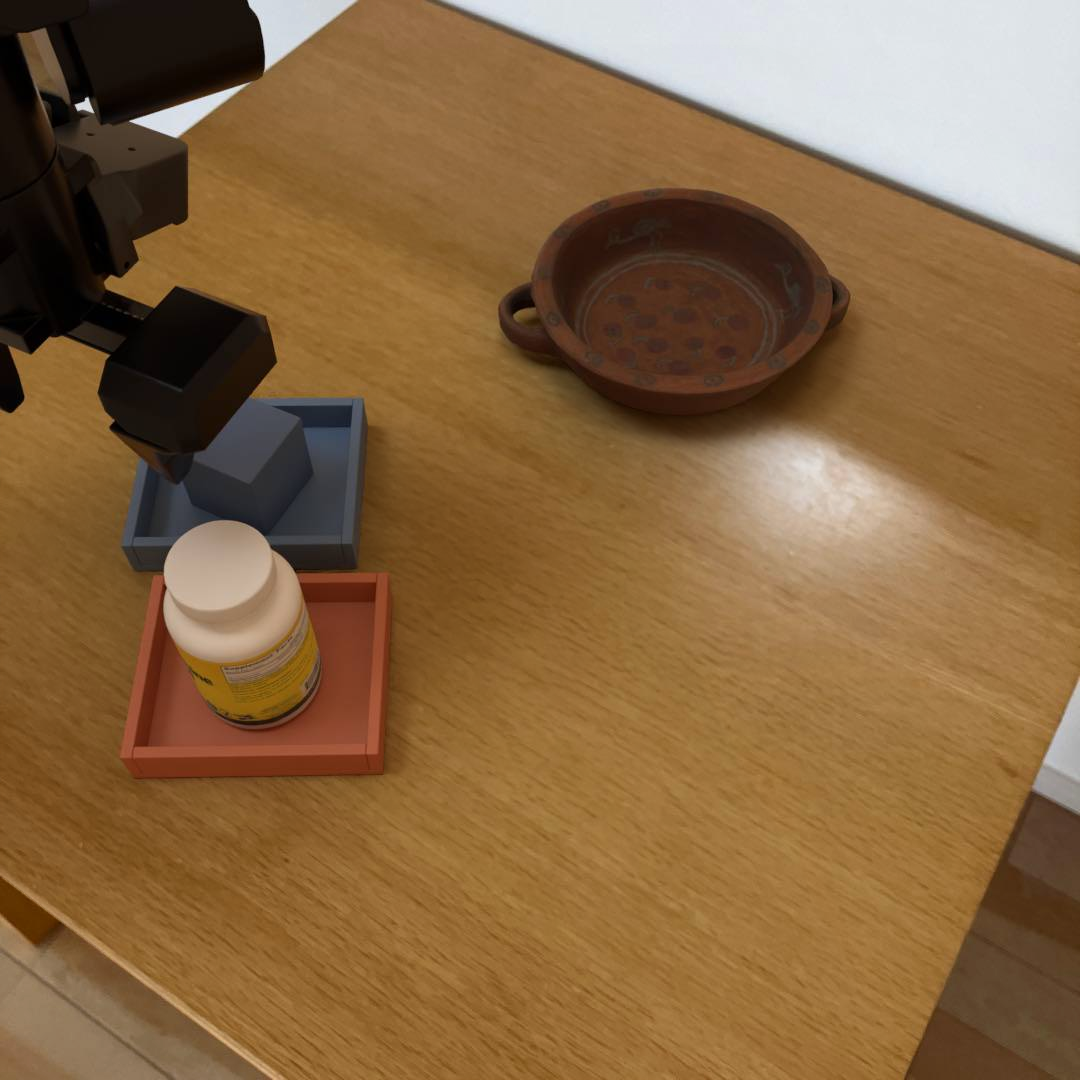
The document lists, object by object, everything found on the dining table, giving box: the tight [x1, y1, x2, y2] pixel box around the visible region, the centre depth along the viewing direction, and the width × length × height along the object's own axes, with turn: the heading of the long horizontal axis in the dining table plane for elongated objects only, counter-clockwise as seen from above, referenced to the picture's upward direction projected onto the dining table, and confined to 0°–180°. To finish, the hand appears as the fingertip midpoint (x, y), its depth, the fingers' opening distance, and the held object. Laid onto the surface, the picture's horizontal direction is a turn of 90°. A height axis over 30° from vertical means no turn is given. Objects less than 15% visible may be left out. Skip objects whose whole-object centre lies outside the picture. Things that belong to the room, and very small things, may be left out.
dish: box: [497, 187, 851, 416], centre depth 72 cm, size 18×22×5 cm
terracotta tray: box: [119, 572, 393, 779], centre depth 59 cm, size 12×10×2 cm
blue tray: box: [120, 397, 369, 572], centre depth 65 cm, size 12×10×2 cm
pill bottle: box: [163, 520, 322, 729], centre depth 55 cm, size 6×6×11 cm
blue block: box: [182, 396, 314, 536], centre depth 64 cm, size 5×5×5 cm
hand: (96, 440), depth 53 cm, fingers open, 9 cm apart
